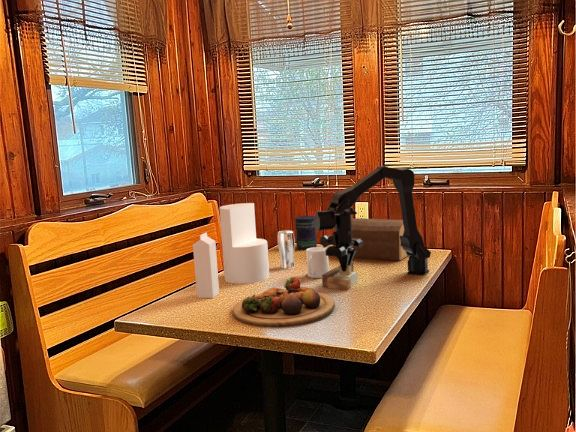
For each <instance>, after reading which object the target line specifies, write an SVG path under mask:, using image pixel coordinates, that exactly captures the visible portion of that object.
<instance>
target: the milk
mask: <svg viewBox="0 0 576 432" xmlns="http://www.w3.org/2000/svg"><path fill="white" fill-rule="evenodd" d="M216 247H217V245H216V240H214V239H212V238H211V237H209V236H208V232H207V231H206V232H204V233H202V234H200V235H199V240H197V241H196V242H195V243H193V244H192V248H193V259H194V260H193V264H194V272H195V273H194V275H195V286H196V298H199V299H214V298H215V297H216V296H217V295H219V294H220V287H219V286H220V284H219V273H218V270H219V269H218V257H217V248H216Z"/></svg>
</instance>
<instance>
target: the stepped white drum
mask: <svg viewBox="0 0 576 432" xmlns="http://www.w3.org/2000/svg"><path fill="white" fill-rule="evenodd" d="M219 219H220V220H219V221H220V231H221V233H220V234H221V247H222V257H223V259H222V260H223V261H222V262H223V271H224V280H225V282H227V283H230V284H237V285H238V284H244V285H245V284H254V283H259V282H263V281H266V280H268V279H269V278H270V265H269V262H270V261H269V249H268V247H269V246H268V241H267V240H266V239H264V238H257V230H256V229H257V228H256V226H257V225H256V214H255V203H254V202H247V203H246V202H245V203H244V202H243V203H242V202H241V203H234V204H226V205H221V206H219ZM267 278H268V279H267Z"/></svg>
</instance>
